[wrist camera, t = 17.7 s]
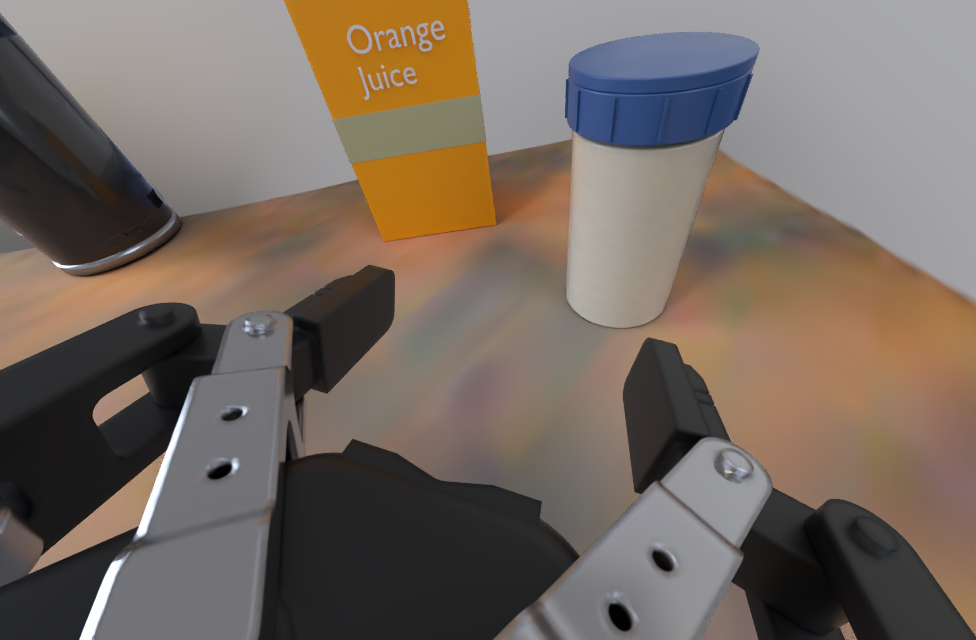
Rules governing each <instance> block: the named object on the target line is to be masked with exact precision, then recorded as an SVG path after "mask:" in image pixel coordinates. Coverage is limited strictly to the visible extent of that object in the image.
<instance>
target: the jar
mask: <svg viewBox="0 0 976 640" xmlns="http://www.w3.org/2000/svg"><path fill="white" fill-rule="evenodd" d="M724 130H725V129H723V130H721V131H719V132H717V133H715V134H713V135H710V136H707V137H704V138H700V139H696V140H692V141H687V142H682V143H675V144H667V145H653V146H631V145H618V144H610V143H605V142H599V141H596V140H592V139H589V138H586V137H583V136H581V135H579V134H577V133H576V132H575V131H573V130H572V151H571V176H570V200H569V225H568V250H567V274H566V297H567V300H568V302H569V304H570V306H571V307H572V308H573V310H574V311H575V312H576V313H578V314H579V315H580V316H581V317H583V318H584V319H586V320H588V321H590V322H592V323H595V324H598V325H601V326H606V327H611V328H630V327H636V326H640V325H643V324H646V323H648V322H650V321H652V320H653V319H655V318H656V317H657V316H659V315H660V314H661V313H662V311H663V310H664V308H665V306H666V303H667V300H668V297H669V294H670V291H671V288H672V285H673V282H674V279H675V276H676V273H677V270H678V267H679V264H680V261H681V258H682V255H683V252H684V249H685V246H686V244H687V241H688V238H689V235H690V232H691V229H692V226H693V223H694V220H695V217H696V214H697V211H698V208H699V205H700V202H701V199H702V196H703V193H704V190H705V187H706V184H707V181H708V178H709V175H710V172H711V169H712V166H713V163H714V160H715V157H716V154H717V151H718V148H719V145H720V142H721V139H722V136H723V133H724Z"/></svg>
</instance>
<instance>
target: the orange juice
mask: <svg viewBox="0 0 976 640" xmlns="http://www.w3.org/2000/svg"><path fill="white" fill-rule="evenodd" d="M284 2H285V4H286V6H287V9H288V11H289V14H290V16H291V19H292V21H293V23H294V26H295V28H296V31H297V33H298V36H299V38H300V40H301V43H302V45H303V48H304V50H305V52H306V55H307V57H308V60H309V62H310V65H311V67H312V69H313V72H314V74H315V77H316V79H317V81H318V84H319V86H320V89H321V91H322V93H323V96H324V98H325V101H326V103H327V106H328V108H329V110H330V113H331V115H332V118H333V122H334V125H335V127H336V130H337V132H338V134H339V137H340V139H341V142H342V144H343V147H344V149H345V151H346V154H347V156H348V159H349V161H350V163H351V164H352V166H353V168H354V171H355V173H356V176H357V178H358V180H359V183H360V185H361V188H362V190H363V193H364V195H365V197H366V200H367V202H368V205H369V207H370V209H371V212H372V214H373V217H374V219H375V222H376V224H377V226H378V229H379V231H380V234H381V236H382V238H383V241H384V242H385V241H391V240H398V239H405V238H411V237H418V236H424V235H431V234H438V233H444V232H451V231H458V230H464V229H471V228H477V227H484V226H491V225H496V218H495V210H494V202H493V195H492V187H491V179H490V172H489V164H488V156H487V149H486V136H485V129H484V120H483V112H482V104H481V97H480V90H479V84H478V78H477V72H476V65H475V56H474V49H473V41H472V33H471V26H470V18H469V11H468V3H467V0H284Z"/></svg>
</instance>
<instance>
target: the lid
mask: <svg viewBox="0 0 976 640" xmlns="http://www.w3.org/2000/svg"><path fill="white" fill-rule="evenodd" d="M758 53H759V46H758V44H757V43H756V42H754V41H752V40H750V39H748V38H745V37H741V36H736V35H731V34H724V33H711V32H679V33H663V34H654V35H653V34H652V35H644V36H638V37H631V38H625V39H620V40H615V41H611V42H607V43H604V44H600V45H597V46H594V47H591V48H588V49H586V50H584V51H582V52H580V53H578V54H576V55H575V56H574V57H573V58H572V59H571V60H570V62H569V78H568V79H566V103H565V118H567V121H568V124H569V126H570V128H571V129H572V130H573V131H575V132H576V133H577V134H579V135H581V136H583V137H586V138H589V139H592V140H596V141H599V142H605V143H610V144H618V145H631V146H653V145H667V144H675V143H682V142H687V141H692V140H696V139H700V138H704V137H707V136H710V135H713V134H715V133H717V132H719V131H721V130H723V129H725V128H726V127H728V126H729V125H730V124H731V123H732V122H733V121H734V120H737V118H738V115H739V113H740V110H741V107H742V104H743V101H744V98H745V95H746V93H747V90H748V87H749V84H750V81H751V79H752V76H753V74H751V73H752V70H753V66H754V64H755V62H756V59H757V56H758Z"/></svg>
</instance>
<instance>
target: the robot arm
mask: <svg viewBox="0 0 976 640" xmlns="http://www.w3.org/2000/svg"><path fill="white" fill-rule="evenodd" d="M153 188H154V189H153ZM153 188H152V187H151V186H150V185H149V183H147V181H146V180H145V179H144V178H143V176H142V175H141V174H140V173H139V172H138V170H137V169H136V168H135V167H134V166H133V165H132V164H131V162H130V161H129V160H128V159H127V158H126V157H125V156H124V154H123V153H122V152H121V151H120V150H119V149H118V147H117V146H116V145H115V144H114V143H113V142H112V141H111V139H110V138H109V137H108V136H107V135H106V134H105V133H104V132H103V130H102V129H101V128H100V127H99V126H98V125H97V123H96V122H95V121H94V120H93V119H92V118H91V116H90V115H89V114H88V113H87V112H86V111H85V110H84V109H83V107H82V106H81V105H80V104H79V103H78V102H77V101H76V99H75V98H74V97H73V96H72V95H71V93H69V91H68V90H67V89H66V88H65V87H64V85H63V84H62V83H61V82H60V81H59V80H58V79H57V77H56V76H55V75H54V74H53V73H52V72H51V70H50V69H49V68H48V67H47V66H46V65H45V64H44V62H43V61H42V60H41V59H40V58H39V57H38V56H37V54H36V53H35V52H34V51H33V50H32V49H31V48H30V47H29V45H28V44H27V43H26V42H25V41H24V39H23V38H22V37H21V36H20V35H18V33H17V32H16V31H15V30H14V28H13V27H12V26H11V25H10V24H9V23H8V21H7V20H6V19H5V18H4V17H3V16H2V15H1V13H0V220H1V221H2V222H4V223H5V224H6V225H8V226H9V227H10V228H11V229H13V230H14V231H15V232H16V233H17V234H19V235H20V236H21V237H23V238H24V239H25V240H26V241H28V242H29V243H31V244H32V245H33V246H34V247H35V248H37V249H38V250H39V251H41V252H42V253H43V254H44V255H46V256H47V257H48V258H50V259H51V260H52V261H53V263H54V264H55V265H56V266H58V267H59V268H60V269H62V270H63V271H64V272H65V273H67V274H70V275H77V276H79V275H89V274H94V273H99V272H103V271H106V270H109V269H113V268H116V267H118V266H121V265H124V264H126V263H129V262H131V261H133V260H135V259H137V258H139V257H142V256H143V255H145V254H147V253H149V252H151V251H152V250H154V249H156V248H157V247H159V246H160V245H162V244H163V243H164V242H166V241H167V240H168V239H169V238H171V237H172V236H173V235H174V234H175V233H176V231H177V230H178V229H179V227H180V225H181V219H180V217H179V216H178V215H177V214H176V213H175V212H174V210H173V209H172V208H170V207H169V206H168V205H167V204H166V203H165V201H164V199H163V196H162V195H161V194H160V192H159V191H158V190H157V189H156V188H155V187H154V186H153ZM394 305H395V275H394V272H393V271H392V270H388V269H384V268H381V267H377V266H373V265H368V266H366V267H365V268H363V269H362V270H360V271H359V272H357V273H355V274H354V275H350V276H346V277H343V278H339V279H336V280H334V281H332V282H331V283H329V284H328V285H326V286H324V289H323V288H321V289H320V290H318V291H317V292H315V294H314V295H313V294H312V295H310V296H309V297H307V298H305V299H304V300H302V301H301V302H299V303H297V304H296V305H294V306H293V307H291V308H289V309H288V310H286V311H285V312H283V313H282V312H278V311H256V312H251V313H247V314H244V315H241V316H239V317H237V318H235V319H233V320H232V321H231V322H230V323H229V324H228V325H214V324H200V321H199V318H198V315H197V312H196V310H195V308H193V307H192V306H190V305H187V304H183V303H159V304H153V305H148V306H144V307H141V308H138V309H135V310H133V311H131V312H128V313H126V314H124V315H122V316H120V317H117V318H115V319H113V320H111V321H108V322H106V323H104V324H102V325H100V326H97V327H95V328H93V329H91V330H88V331H86V332H84V333H82V334H80V335H77V336H75V337H73V338H71V339H69V340H66V341H64V342H62V343H60V344H57V345H55V346H53V347H51V348H49V349H46V350H44V351H42V352H40V353H38V354H35V355H33V356H31V357H29V358H26V359H24V360H22V361H20V362H18V363H15V364H13V365H11V366H9V367H7V368H4V369H2V370H0V640H700V638H701V636H702V634H703V633H704V631H705V629H706V627H707V625H708V623H709V622H710V620H711V618H712V616H713V614H714V612H715V610H716V609H717V607H718V605H719V603H720V601H721V599H722V598H723V596H724V594H725V592H726V590H727V588H728V586H729V585H730V583H731V582H733V583H734V584H736V585H737V586H739V587H741V588H742V589H744V590H745V593H746V597H747V600H748V604H749V607H750V611H751V614H752V618H753V621H754V625H755V629H756V632H757V636H758V639H759V640H845V639H844V637H843V634H842V632H841V630H840V628H839V627H841V626H842V625H844V624H846V623H848V622H849V623H850V625H851V627H852V629H853V631H854V633H855V636H856V638H857V640H976V636H975V635H974V633H973V632H972V631H971V629H970V628H969V626H968V625H967V624H966V622H965V621H964V619H963V618H962V616H961V615H960V614H959V612H958V611H957V609H956V608H955V607H954V605H953V604H952V602H951V601H950V599H949V598H948V597H947V595H946V594H945V592H944V591H943V590H942V588H941V587H940V585H939V584H938V582H937V581H936V580H935V578H934V577H933V575H932V574H931V573H930V571H929V570H928V568H927V567H926V566H925V564H924V563H923V561H922V560H921V558H920V557H919V556H918V554H917V553H916V551H915V550H914V549H913V548H912V546H911V545H910V544H909V543H908V542H907V541H906V540H905V539H904V538H903V537H902V536H901V535H900V534H899V533H898V532H897V531H896V530H895V529H894V528H892V527H891V526H890V525H889V524H887V523H886V522H885V521H883V520H882V519H881V518H879V517H878V516H876V515H875V514H873V513H871V512H870V511H868V510H866V509H864V508H862V507H860V506H858V505H856V504H854V503H851V502H848V501H845V500H840V499H830V500H827V501H826V502H825V503H824V504H823V505H821V506H820V507H819V508H818V509H817V510H815V509H813V508H811V507H809V506H807V505H805V504H803V503H801V502H799V501H797V500H796V499H794V498H792V497H790V496H788V495H786V494H784V493H782V492H780V491H778V490H777V489H775V488H773V487H772V481H771V478H770V476H769V474H768V473H767V471H766V470H765V468H764V467H763V466H762V465H761V463H760V462H759V461H758V460H757V459H756V458H754V457H753V456H752V455H751V454H750V453H748V452H747V451H746V450H744V449H742V448H741V447H739V446H738V445H736V444H734V443H732V442H731V441H730V438H729V436H728V434H727V432H726V429H725V427H724V425H723V423H722V420H721V418H720V416H719V413H718V411H717V409H716V407H715V406H714V402H713V400H712V398H711V395H709V391H708V389H707V386H706V384H705V382H704V380H703V378H702V377H701V376H700V375H699V374H698V373H697V372H696V371H695V370H694V369H693V368H692V367H691V366H690V365H687V364H684V363H683V360H682V358H681V355H680V353H679V350H678V347H677V345H676V344H673V343H669V342H665V341H661V340H657V339H653V338H647V339H646V340H645V341H644V343H643V345H642V347H641V349H640V351H639V353H638V355H637V357H636V359H635V361H634V364H633V366H632V368H631V370H630V372H629V374H628V376H627V378H626V381H625V385H624V390H623V402H624V410H625V418H626V426H627V434H628V442H629V451H630V459H631V467H632V475H633V483H634V491H635V492H636V493H639V494H641V495H640V496H639V497H638V498H637V499H636V500H635V501H634V502H633V503H632V504H631V505H630V507H629V508H628V509H627V510H626V511H625V512H624V513H623V514H622V515H621V516H620V517H619V518H618V519H617V520H616V521H615V522H614V523H613V524H612V525H611V526H610V527H609V528H608V529H607V530H606V531H605V532H604V533H603V534H602V535H601V536H600V537H599V538H598V539H597V540H596V541H595V542H594V543H593V544H592V545H591V546H590V547H589V548H588V549H587V550H586V551H585V552H584V553H583V554H582V555H581V556H579V555H578V553H577V552H576V551H575V550H574V548H573V547H572V546H571V545H570V544H569V542H568V541H567V540H566V539H564V538H563V537H562V536H561V535H560V534H559V533H558V532H557V531H556V530H555V529H553V528H552V527H551V526H550V525H548V524H547V523H546V522H544V521H543V520H541V519H540V511H541V503H542V501H539V500H536V499H533V498H530V497H527V496H524V495H521V494H518V493H515V492H512V491H508V490H505V489H502V488H499V487H496V486H493V485H483V484H471V483H459V482H446V481H440V480H437V479H435V478H434V477H432V476H430V475H429V474H427V473H426V472H424V471H423V470H421V469H420V468H418V467H417V466H415V465H413V464H412V463H410V462H409V461H407V460H406V459H404V458H403V457H401V456H400V455H398V454H397V453H394V452H391V451H388V450H385V449H381V448H378V447H375V446H372V445H369V444H366V443H363V442H360V441H357V440H354V439H352V440H351V442H350V443H349V445H348V446H347V447H346V449H345V450H344V451H343V453H322V454H315V455H310V456H306V400H305V394H306V393H307V392H308V391H309V390H310V389H314V390H317V391H320V392H324V393H328V392H329V391H330V390H331V389H332V388H333V387H334V386H335V385H336V384H337V383H338V382H339V381H340V380H341V379H342V378H343V377H344V376H345V375H346V374H347V372H348V371H349V370H350V369H351V368H352V367H353V366H354V365H355V364H356V363H357V362H358V361H359V360H360V359H361V358H362V357H363V356H364V355H365V354H366V353H367V352H368V351H369V350H370V348H371V347H372V346H373V345H374V344H375V343H376V342H377V341H378V340H379V339H380V338H381V337H382V336H383V335H384V334H385V333H386V332H387V331H388V329H389V328H390V326H391V324H392V321H393V318H394ZM139 374H142V376H143V378H144V380H145V382H146V384H147V386H148V389H149V391H150V392H149V393H147V394H146V395H144V396H143V397H141V398H140V399H138V400H137V401H135V402H134V403H132V404H131V405H129V406H128V407H126V408H125V409H123V410H122V411H120V412H119V413H117V414H116V415H114V416H113V417H111V418H110V419H108V420H107V421H105V422H104V423H102V424H101V425H99V426H98V427H97V425H96V423H95V422H94V420H93V416H92V415H93V410H94V407H95V405H96V404H97V403H98V401H99V400H100V399H101V398H102V397H104V396H105V395H106V394H108V393H110V392H111V391H113V390H115V389H116V388H118V387H120V386H121V385H123V384H124V383H126V382H128V381H129V380H131V379H133V378H134V377H136V376H138V375H139ZM166 450H167V452H166V455H165V458H164V460H163V463H162V466H161V468H160V471H159V474H158V477H157V479H156V482H155V485H154V488H153V490H152V493H151V496H150V498H149V501H148V504H147V507H146V509H145V512H144V515H143V518H142V520H141V523H140V526H138V527H136V528H134V529H131V530H129V531H127V532H125V533H122V534H120V535H118V536H115V537H113V538H111V539H109V540H106V541H104V542H102V543H99V544H97V545H95V546H92V547H90V548H88V549H86V550H83V551H81V552H79V553H76V554H74V555H72V556H70V557H67V558H65V559H63V560H60V561H58V562H56V563H53V564H51V565H49V566H47V567H44V568H42V569H40V570H37V571H35V572H33V573H31V574H28V573H29V572H30V571H31V570H32V569H33V567H34V566H35V564H36V563H37V561H38V560H39V558H40V556H41V555H43V554H44V553H45V552H46V551H47V550H49V549H50V548H51V547H52V546H53V545H55V544H56V543H57V542H58V541H59V540H61V539H62V538H63V537H64V536H65V535H66V534H68V533H69V532H70V531H71V530H72V529H74V528H75V527H76V526H77V525H78V524H80V523H81V522H82V521H83V520H84V519H85V518H87V517H88V516H89V515H90V514H91V513H93V512H94V511H95V510H96V509H97V508H99V507H100V506H101V505H102V504H103V503H104V502H106V501H107V500H108V499H109V498H110V497H112V496H113V495H114V494H115V493H116V492H118V491H119V490H120V489H121V488H122V487H123V486H125V485H126V484H127V483H128V482H129V481H131V480H132V479H133V478H134V477H135V476H137V475H138V474H139V473H140V472H141V471H142V470H144V469H145V468H146V467H147V466H148V465H150V464H151V463H152V462H153V461H154V460H156V459H157V458H158V457H159V456H160V455H162V454H163V453H164V452H165V451H166Z"/></svg>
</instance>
